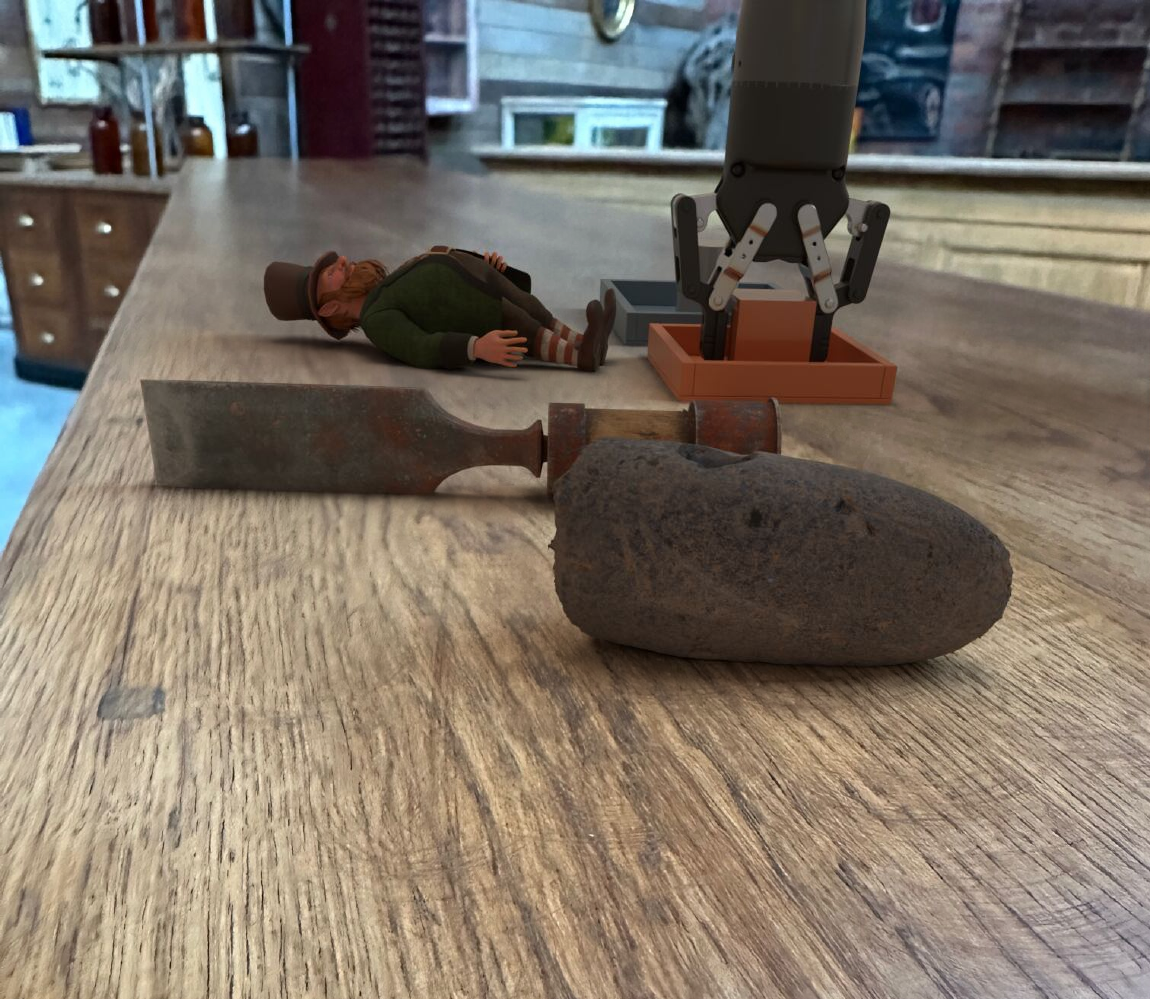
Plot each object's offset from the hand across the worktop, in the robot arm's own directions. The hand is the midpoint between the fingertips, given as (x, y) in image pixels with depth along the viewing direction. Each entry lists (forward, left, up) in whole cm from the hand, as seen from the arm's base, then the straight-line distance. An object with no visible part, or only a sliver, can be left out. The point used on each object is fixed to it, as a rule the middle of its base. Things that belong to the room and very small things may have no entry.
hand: (761, 368), depth 76 cm
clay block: (0, 0, 0) cm, 0 cm away
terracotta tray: (0, 0, -1) cm, 1 cm away
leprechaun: (+22, -6, -1) cm, 23 cm away
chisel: (+20, +26, -1) cm, 33 cm away
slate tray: (0, -20, -1) cm, 20 cm away
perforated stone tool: (+10, +43, -1) cm, 44 cm away
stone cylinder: (0, -20, 0) cm, 20 cm away
